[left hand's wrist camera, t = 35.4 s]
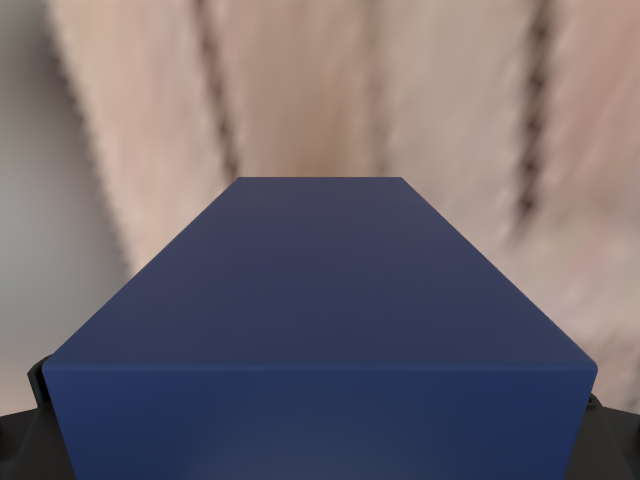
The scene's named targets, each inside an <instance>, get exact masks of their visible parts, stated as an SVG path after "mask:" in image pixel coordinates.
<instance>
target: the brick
mask: <svg viewBox="0 0 640 480" xmlns="http://www.w3.org/2000/svg"><path fill="white" fill-rule="evenodd" d="M42 372H43V376H44V379H45V382H46V385H47V388H48V392H49V395H50V398H51V401H52V404H53V407H54V411H55V414H56V417H57V420H58V423H59V427H60V430H61V433H62V436H63V439H64V442H65V446H66V449H67V452H68V455H69V458H70V462H71V465H72V468H73V471H74V474H75V478H76V480H564V476H565V473H566V470H567V467H568V464H569V461H570V457H571V454H572V451H573V448H574V445H575V442H576V438H577V435H578V432H579V429H580V426H581V423H582V419H583V416H584V413H585V410H586V407H587V404H588V400H589V397H590V394H591V391H592V388H593V385H594V381H595V378H596V375H597V372H598V367H597V365H596V363H595V362H594V361H593V360H592V359H591V358H590V357H589V356H588V355H587V354H586V353H585V352H584V351H583V350H582V349H581V348H580V347H579V346H578V345H577V344H576V343H575V342H573V341H572V340H571V339H570V338H569V337H568V336H567V335H566V334H565V333H564V332H563V331H562V330H561V329H560V328H559V327H558V326H557V325H556V324H555V323H554V322H552V321H551V320H550V319H549V318H548V317H547V316H546V315H545V314H544V313H543V312H542V311H541V310H540V309H539V308H538V307H537V306H536V305H535V304H534V303H533V302H532V301H530V300H529V299H528V298H527V297H526V296H525V295H524V294H523V293H522V292H521V291H520V290H519V289H518V288H517V287H516V286H515V285H514V284H513V283H512V282H511V281H510V280H508V279H507V278H506V277H505V276H504V275H503V274H502V273H501V272H500V271H499V270H498V269H497V268H496V267H495V266H494V265H493V264H492V263H491V262H490V261H489V260H487V259H486V258H485V257H484V256H483V255H482V254H481V253H480V252H479V251H478V250H477V249H476V248H475V247H474V246H473V245H472V244H471V243H470V242H469V241H468V240H467V239H465V238H464V237H463V236H462V235H461V234H460V233H459V232H458V231H457V230H456V229H455V228H454V227H453V226H452V225H451V224H450V223H449V222H448V221H447V220H446V219H445V218H443V217H442V216H441V215H440V214H439V213H438V212H437V211H436V210H435V209H434V208H433V207H432V206H431V205H430V204H429V203H428V202H427V201H426V200H425V199H424V198H422V197H421V196H420V195H419V194H418V193H417V192H416V191H415V190H414V189H413V188H412V187H411V186H410V185H409V184H408V183H407V182H406V181H405V180H404V179H403V178H401V177H239V178H237V179H236V180H235V181H234V182H233V183H232V184H231V185H230V186H229V187H228V188H227V189H226V190H225V191H224V192H223V193H221V194H220V195H219V196H218V197H217V198H216V199H215V200H214V201H213V202H212V203H211V204H210V205H209V206H208V207H207V208H206V209H205V210H204V211H203V212H201V213H200V214H199V215H198V216H197V217H196V218H195V219H194V220H193V221H192V222H191V223H190V224H189V225H188V226H187V227H186V228H185V229H184V230H183V231H182V232H180V233H179V234H178V235H177V236H176V237H175V238H174V239H173V240H172V241H171V242H170V243H169V244H168V245H167V246H166V247H165V248H164V249H163V250H162V251H161V252H159V253H158V254H157V255H156V256H155V257H154V258H153V259H152V260H151V261H150V262H149V263H148V264H147V265H146V266H145V267H144V268H143V269H142V270H141V271H140V272H138V273H137V274H136V275H135V276H134V277H133V278H132V279H131V280H130V281H129V282H128V283H127V284H126V285H125V286H124V287H123V288H122V289H121V290H120V291H119V292H117V293H116V294H115V295H114V296H113V297H112V298H111V299H110V300H109V301H108V302H107V303H106V304H105V305H104V306H103V307H102V308H101V309H100V310H99V311H97V312H96V313H95V314H94V315H93V316H92V317H91V318H90V319H89V320H88V321H87V322H86V323H85V324H84V325H83V326H82V327H81V328H80V329H79V330H78V331H76V332H75V333H74V334H73V335H72V336H71V337H70V338H69V339H68V340H67V341H66V342H65V343H64V344H63V345H62V346H61V347H60V348H59V349H58V350H57V351H55V352H54V353H53V354H52V355H51V356H50V357H49V358H48V359H47V360H46V361H45V362H44V364H43V366H42Z"/></svg>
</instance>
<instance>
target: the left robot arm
mask: <svg viewBox="0 0 640 480" xmlns="http://www.w3.org/2000/svg"><path fill="white" fill-rule="evenodd" d="M51 355H52V354H51ZM51 355H49V356H47V357H45V358H44V359H42V360H41V361H39V362H38V363H36V364H35V365H34V366H33V367H32V368H31V369H30V371H29V372H28V373H27V375H28V378H29V381H30V384H31V387H32V390H33V393H34V396H35V399H36V402H37V405H38V407H37V408H36V409H32V410H28V411H23V412H19V413H14V414H10V415H5V416H1V417H0V480H76V478H75V474H74V471H73V468H72V465H71V462H70V458H69V455H68V452H67V449H66V446H65V442H64V439H63V436H62V433H61V430H60V427H59V423H58V420H57V417H56V414H55V411H54V407H53V404H52V401H51V398H50V395H49V392H48V388H47V385H46V382H45V379H44V376H43V372H42V366H43V364H44V362H45V361H46V360H47V359H48V358H49V357H50V356H51ZM564 480H640V415H638V414H633V413H629V412H624V411H620V410H615V409H611V408H607V407H603V406H602V404H601V403H600V402H599V400H598V399H597V398H596V396H594V395H593V394H592V393H591V394H590V397H589V400H588V404H587V407H586V410H585V413H584V416H583V419H582V423H581V426H580V429H579V432H578V435H577V438H576V442H575V445H574V448H573V451H572V454H571V457H570V461H569V464H568V467H567V470H566V473H565V476H564Z"/></svg>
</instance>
